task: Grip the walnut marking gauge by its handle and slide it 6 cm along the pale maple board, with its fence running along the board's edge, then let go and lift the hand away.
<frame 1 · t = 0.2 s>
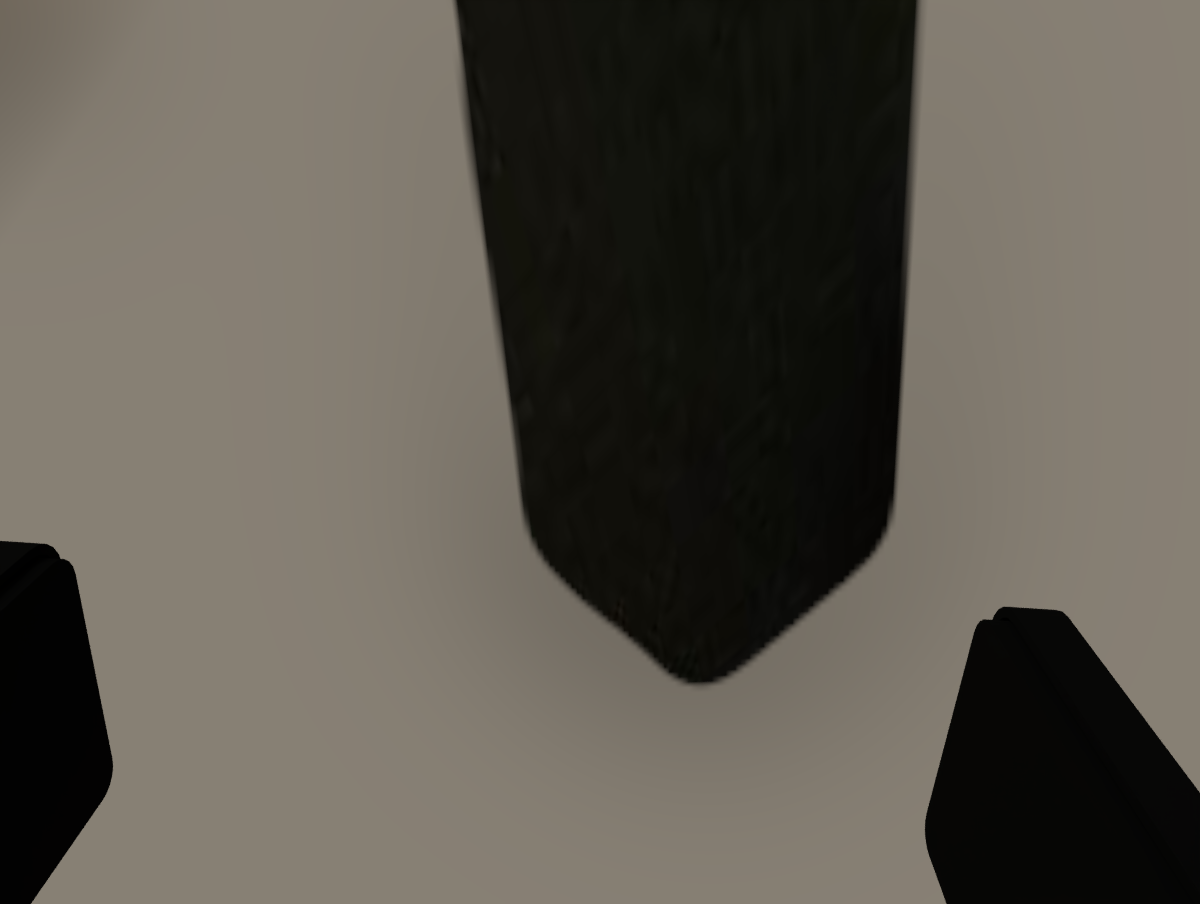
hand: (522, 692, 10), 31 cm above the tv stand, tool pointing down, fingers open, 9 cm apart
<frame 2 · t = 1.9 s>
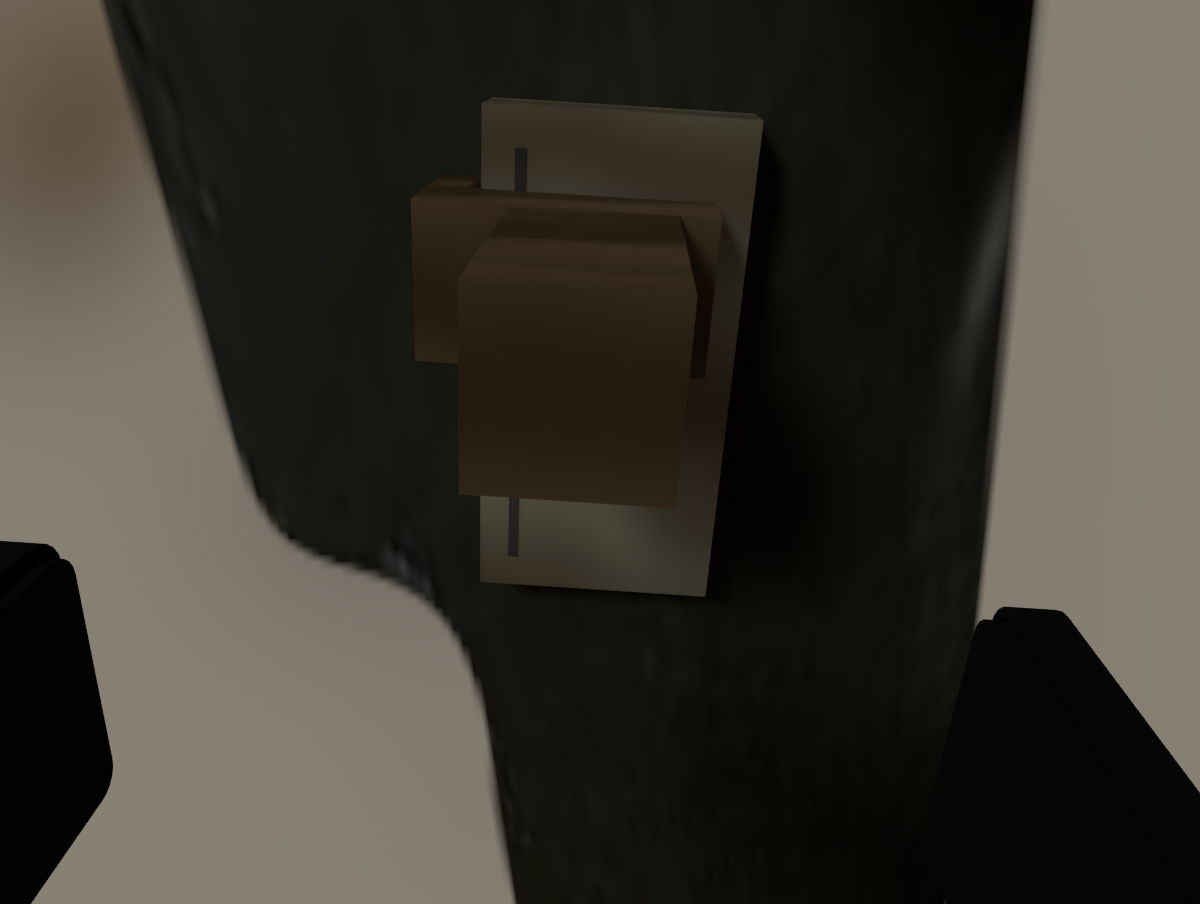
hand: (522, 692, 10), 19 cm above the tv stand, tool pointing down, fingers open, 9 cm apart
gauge: (558, 310, 21), point 6 cm above the tv stand, slide at 0.0 cm
board: (607, 354, 28), on the tv stand
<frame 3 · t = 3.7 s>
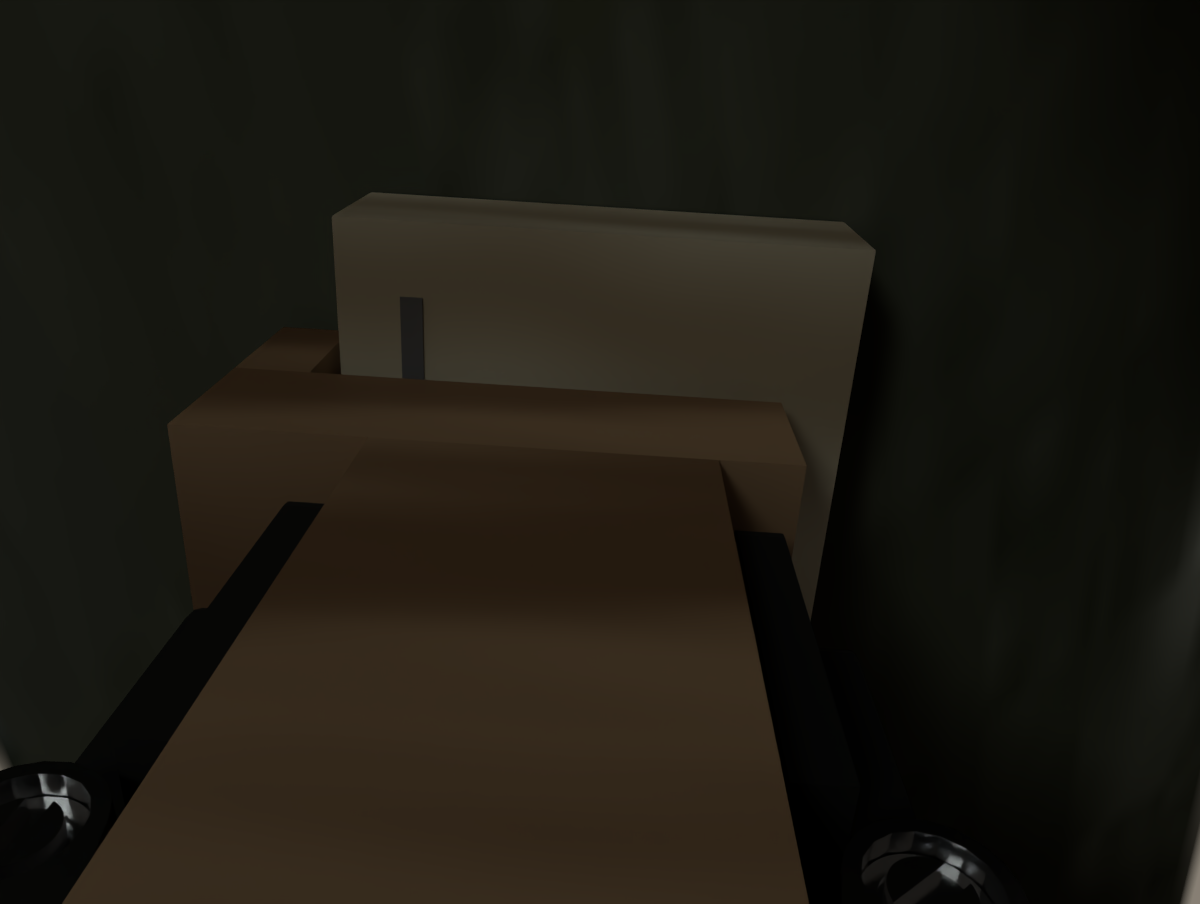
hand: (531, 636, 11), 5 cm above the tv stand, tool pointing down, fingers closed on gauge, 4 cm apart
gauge: (464, 672, 10), point 6 cm above the tv stand, slide at 0.0 cm, touching gripper
board: (583, 606, 17), on the tv stand
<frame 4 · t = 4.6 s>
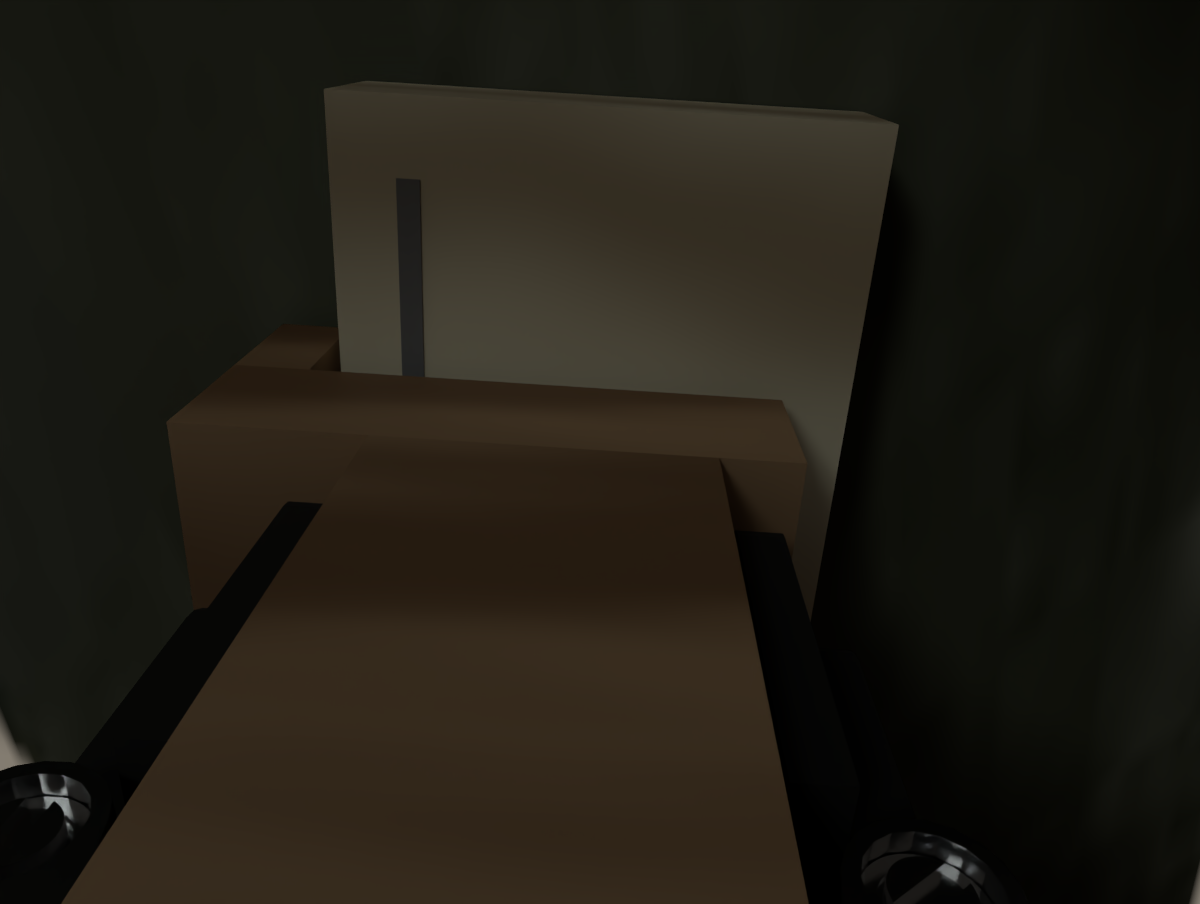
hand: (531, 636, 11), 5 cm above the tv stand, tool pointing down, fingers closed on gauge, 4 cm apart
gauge: (464, 671, 10), point 6 cm above the tv stand, slide at 1.5 cm, touching gripper
board: (588, 530, 16), on the tv stand
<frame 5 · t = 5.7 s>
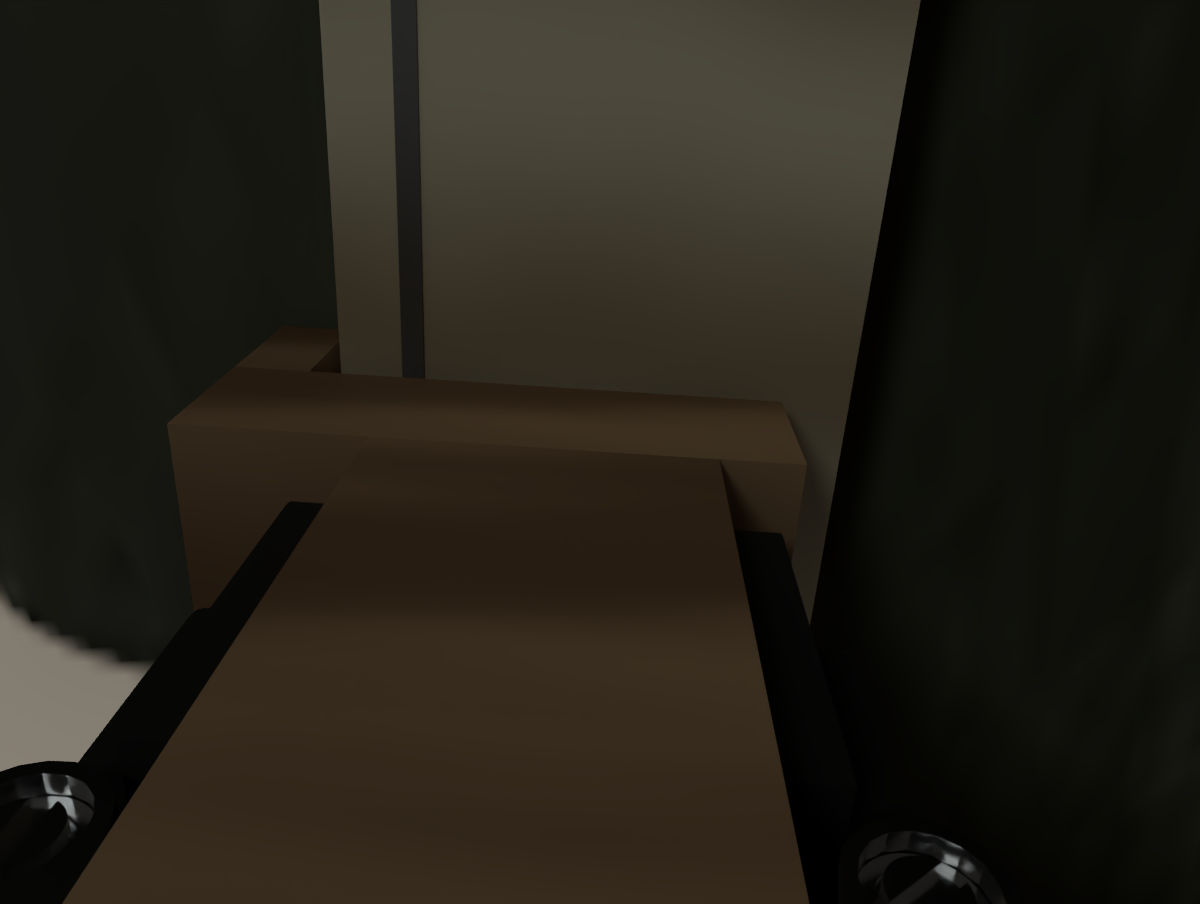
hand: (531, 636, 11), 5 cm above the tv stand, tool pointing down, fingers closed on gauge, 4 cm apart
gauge: (464, 672, 10), point 6 cm above the tv stand, slide at 6.0 cm, touching gripper
board: (603, 272, 14), on the tv stand
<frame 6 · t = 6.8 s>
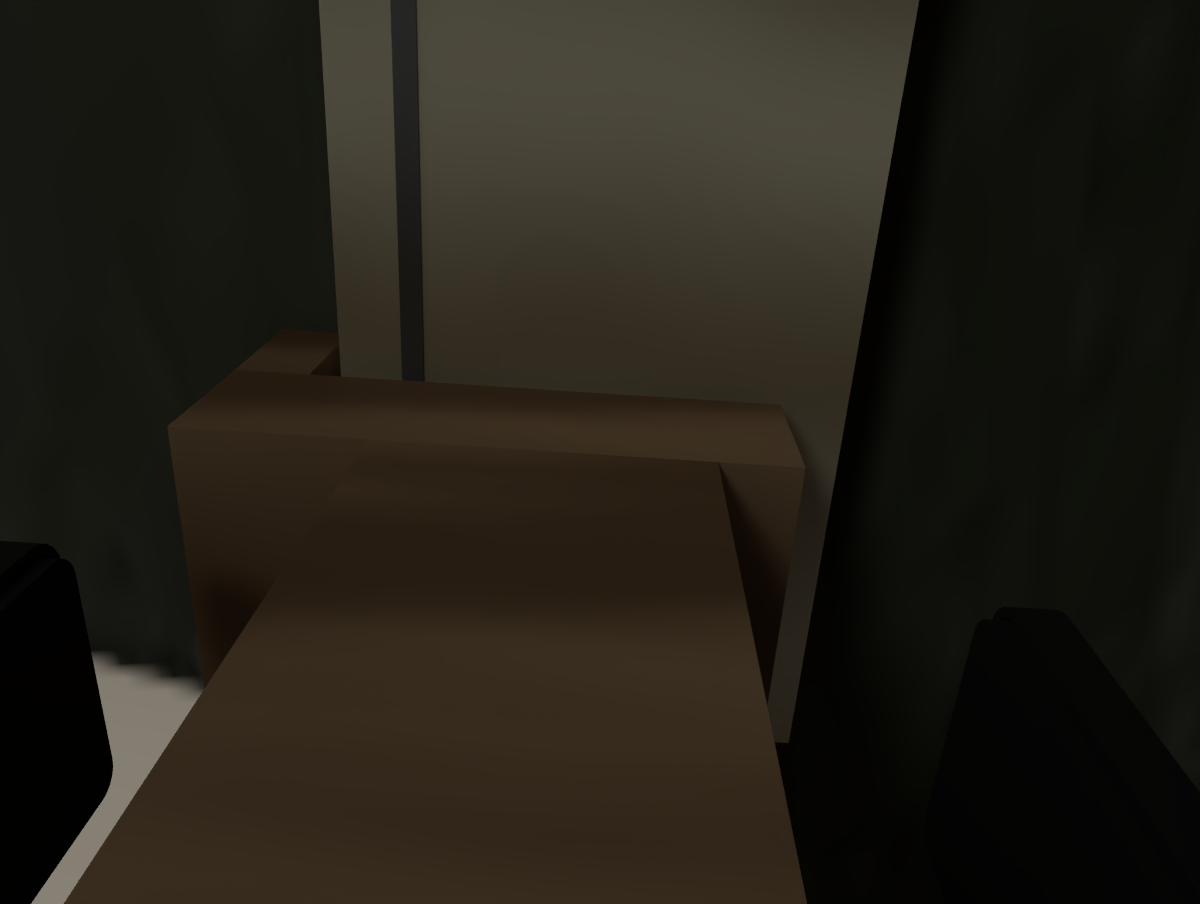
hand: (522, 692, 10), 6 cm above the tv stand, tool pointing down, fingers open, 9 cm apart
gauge: (464, 674, 10), point 6 cm above the tv stand, slide at 6.0 cm
board: (602, 276, 14), on the tv stand
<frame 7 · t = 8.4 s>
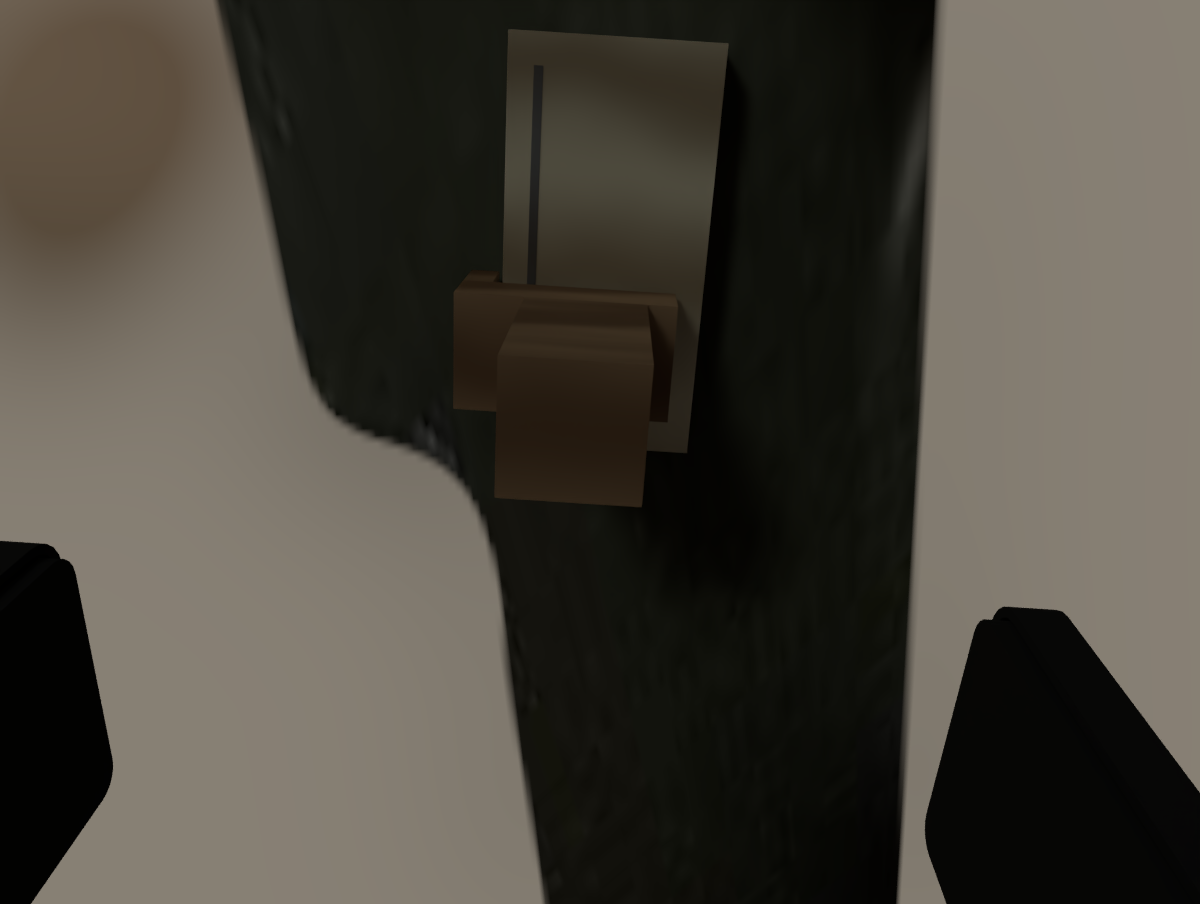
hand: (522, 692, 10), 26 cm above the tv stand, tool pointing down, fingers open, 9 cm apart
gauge: (560, 372, 30), point 6 cm above the tv stand, slide at 6.0 cm
board: (605, 248, 34), on the tv stand
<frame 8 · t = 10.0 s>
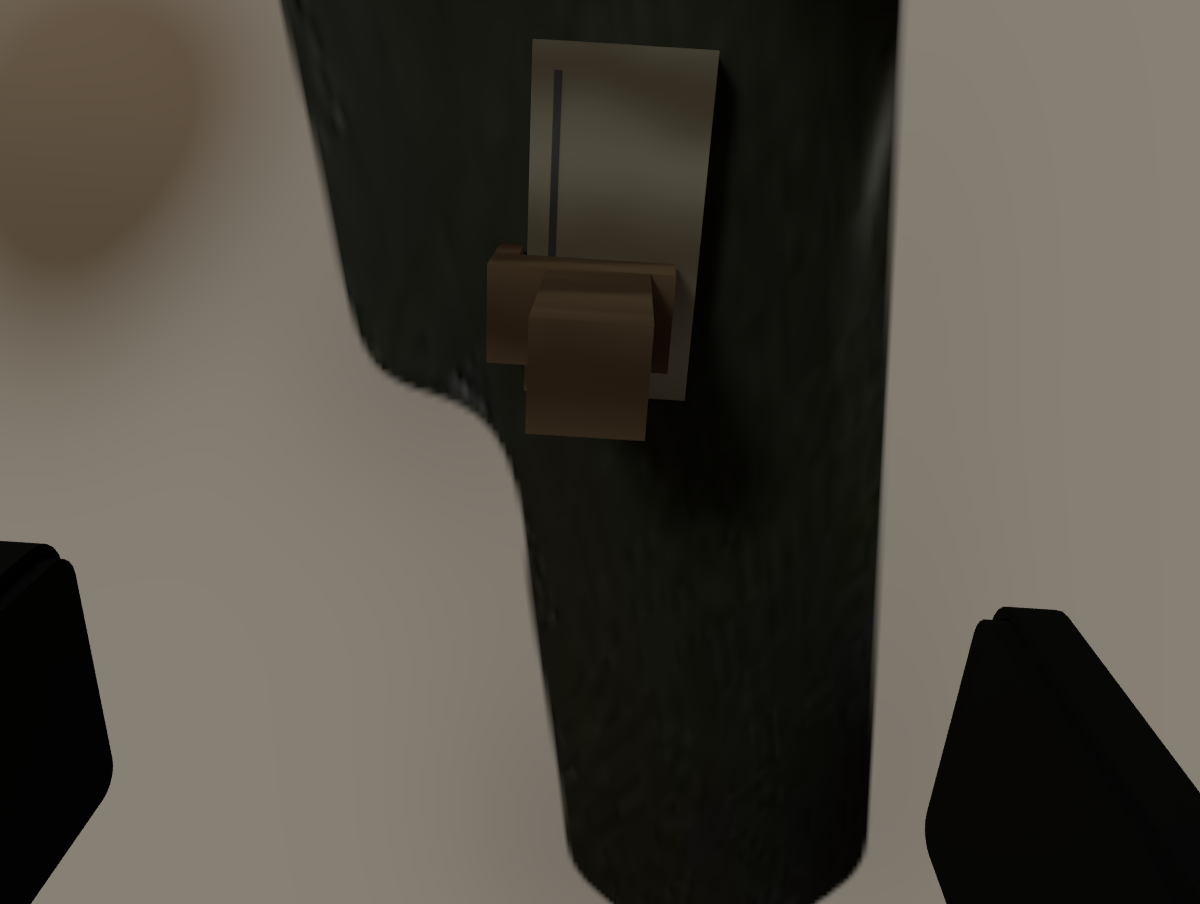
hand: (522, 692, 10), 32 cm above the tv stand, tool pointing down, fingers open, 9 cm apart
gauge: (577, 331, 36), point 6 cm above the tv stand, slide at 6.0 cm
board: (615, 224, 40), on the tv stand
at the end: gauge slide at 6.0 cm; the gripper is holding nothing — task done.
